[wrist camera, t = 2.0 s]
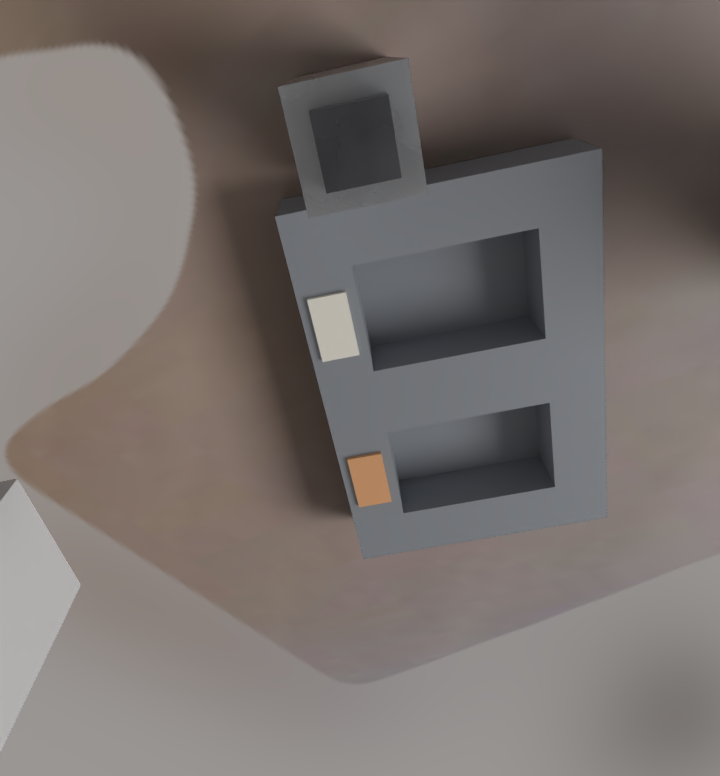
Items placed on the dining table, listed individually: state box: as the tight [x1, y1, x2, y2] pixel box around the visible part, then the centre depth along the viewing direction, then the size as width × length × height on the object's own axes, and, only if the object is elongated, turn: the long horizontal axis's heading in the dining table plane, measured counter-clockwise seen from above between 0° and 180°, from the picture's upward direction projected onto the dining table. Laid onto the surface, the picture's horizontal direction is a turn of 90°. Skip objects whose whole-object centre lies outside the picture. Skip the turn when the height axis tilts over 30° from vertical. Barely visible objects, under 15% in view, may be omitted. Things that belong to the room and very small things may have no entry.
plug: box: [278, 57, 428, 218], centre depth 24 cm, size 4×4×11 cm
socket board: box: [275, 138, 607, 559], centre depth 33 cm, size 20×14×4 cm
